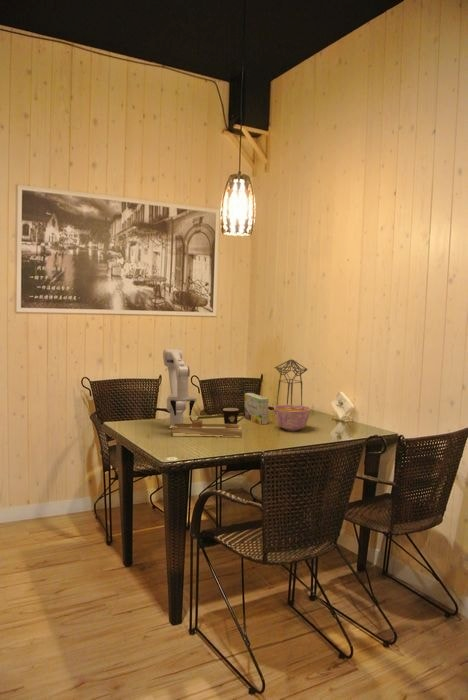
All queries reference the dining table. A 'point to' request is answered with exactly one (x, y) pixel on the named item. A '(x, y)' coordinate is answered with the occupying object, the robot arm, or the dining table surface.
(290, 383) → the geometric lantern
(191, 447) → the dining table surface
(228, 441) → the dining table surface
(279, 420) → the bowl of food
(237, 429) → the trap trough
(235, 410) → the coffee mug
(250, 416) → the snack box
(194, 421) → the walnut block
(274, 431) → the dining table surface
